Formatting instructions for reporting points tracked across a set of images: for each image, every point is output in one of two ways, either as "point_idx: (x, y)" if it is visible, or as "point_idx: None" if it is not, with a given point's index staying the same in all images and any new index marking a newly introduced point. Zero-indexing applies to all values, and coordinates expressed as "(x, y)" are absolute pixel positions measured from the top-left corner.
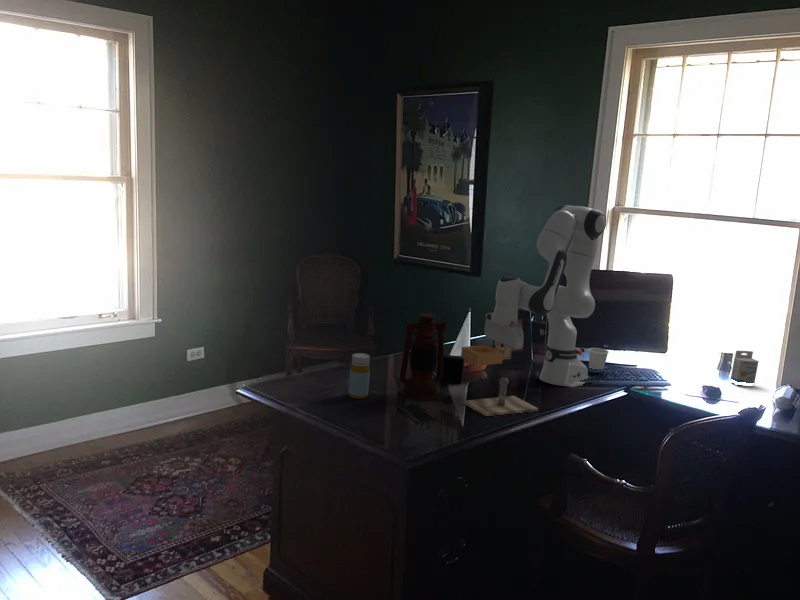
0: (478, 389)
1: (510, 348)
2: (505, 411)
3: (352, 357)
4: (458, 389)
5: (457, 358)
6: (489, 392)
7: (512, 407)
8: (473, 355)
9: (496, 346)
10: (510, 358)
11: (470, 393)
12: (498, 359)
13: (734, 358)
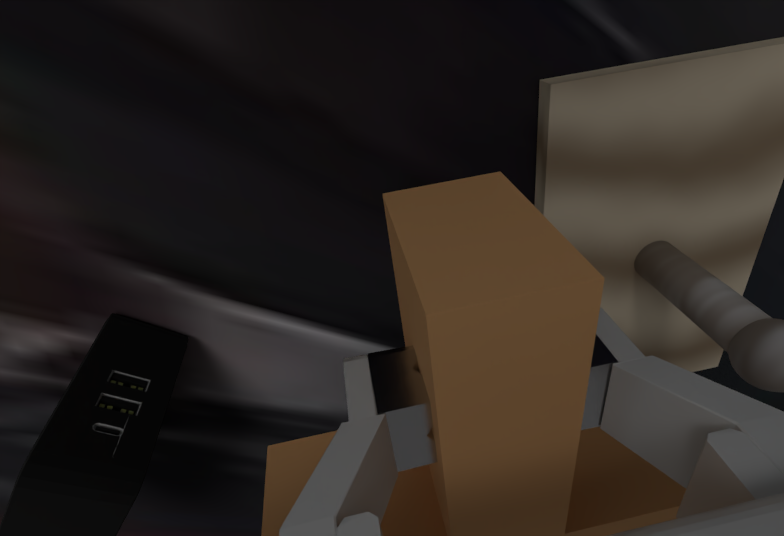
0: (302, 257)
1: (767, 409)
2: (743, 277)
3: None
4: (301, 368)
5: (105, 525)
6: (372, 206)
7: (722, 214)
8: None
9: (380, 517)
10: (503, 178)
11: (379, 327)
12: None
13: None
